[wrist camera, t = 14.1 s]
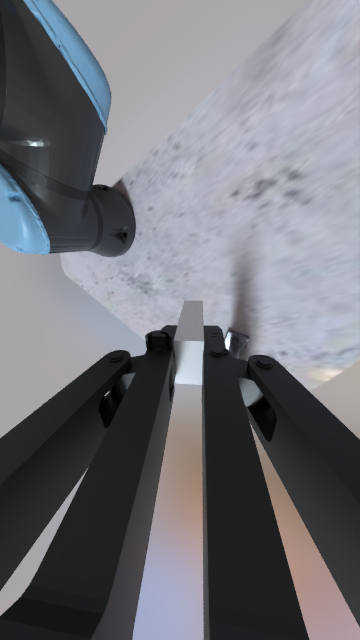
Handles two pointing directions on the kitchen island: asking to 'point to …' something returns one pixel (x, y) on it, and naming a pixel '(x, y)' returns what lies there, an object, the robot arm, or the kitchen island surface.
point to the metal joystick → (236, 343)
